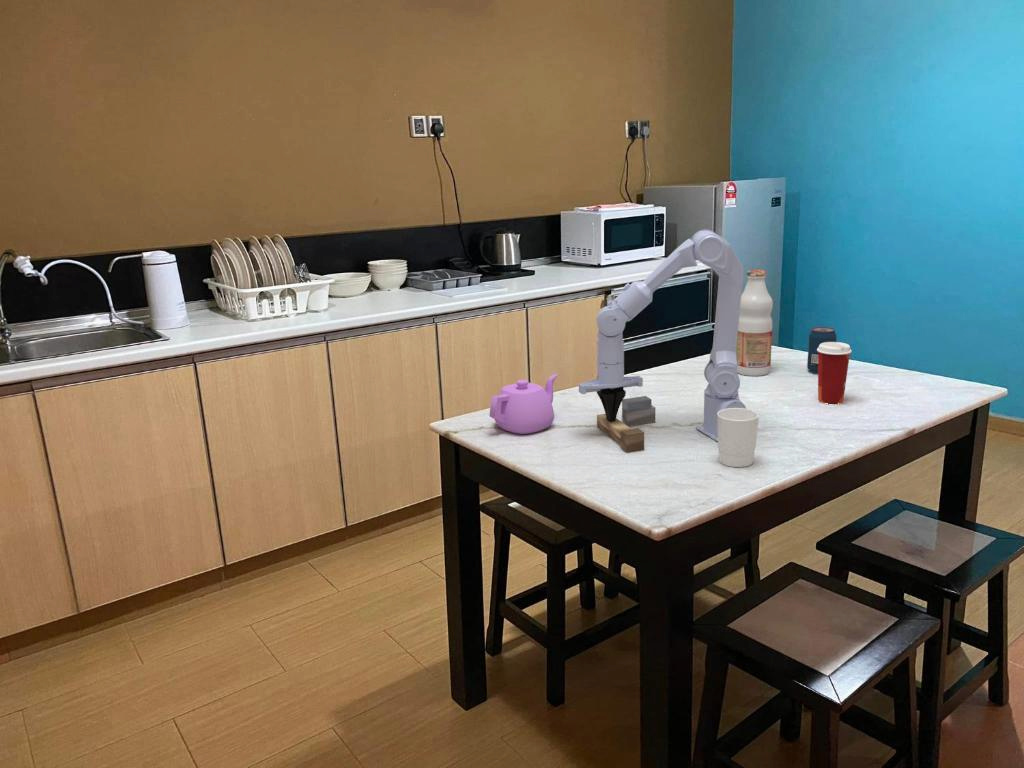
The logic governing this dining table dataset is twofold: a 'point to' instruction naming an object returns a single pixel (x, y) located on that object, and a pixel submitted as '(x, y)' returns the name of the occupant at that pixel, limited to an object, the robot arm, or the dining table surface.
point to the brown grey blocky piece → (632, 437)
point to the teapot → (524, 406)
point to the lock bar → (636, 403)
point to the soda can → (815, 339)
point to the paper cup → (832, 371)
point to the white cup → (737, 436)
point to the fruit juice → (754, 327)
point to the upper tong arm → (612, 425)
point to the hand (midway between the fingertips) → (611, 420)
